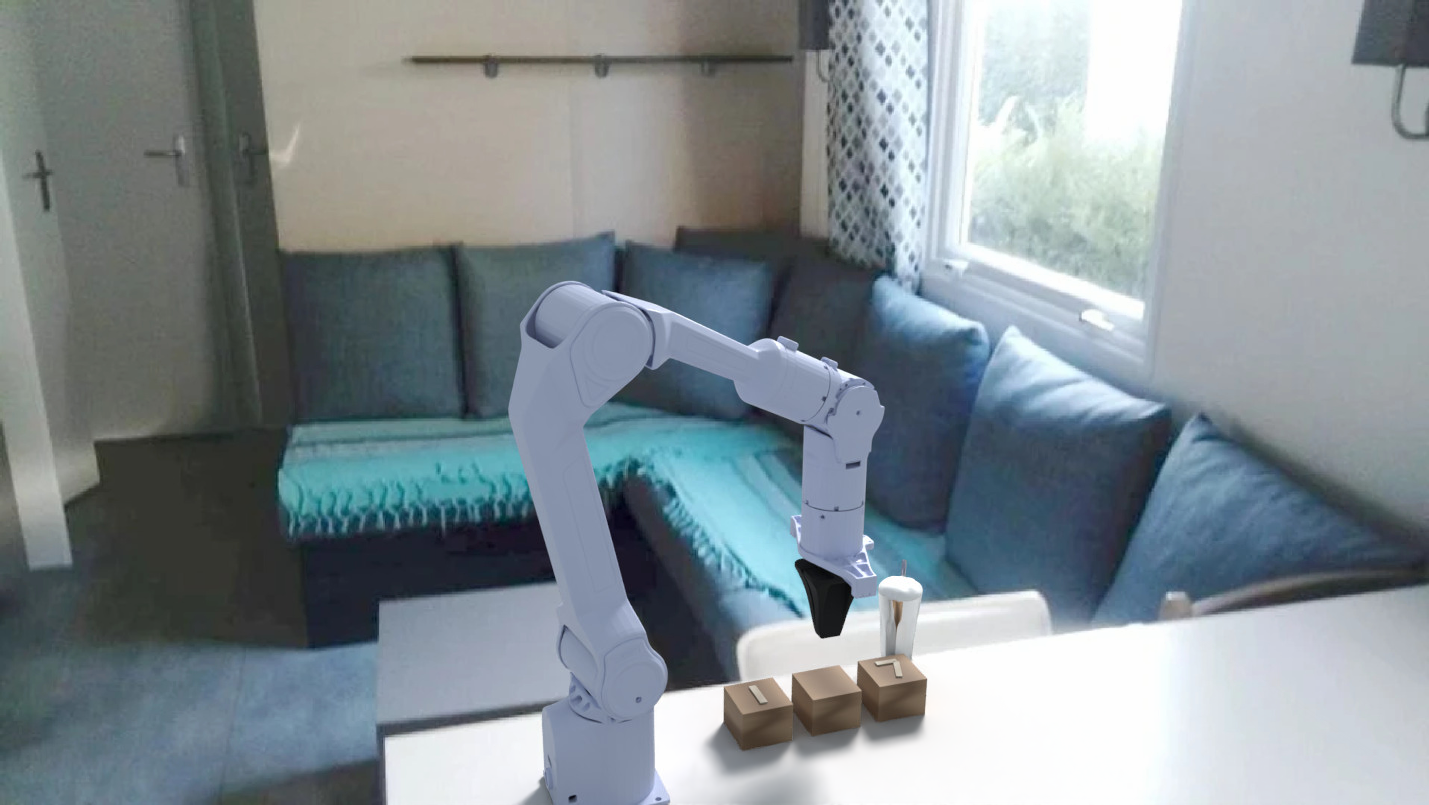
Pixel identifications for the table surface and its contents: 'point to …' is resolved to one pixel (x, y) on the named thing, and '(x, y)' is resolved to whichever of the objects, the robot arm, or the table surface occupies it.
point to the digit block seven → (891, 687)
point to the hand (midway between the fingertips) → (827, 634)
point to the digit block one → (758, 713)
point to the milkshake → (898, 613)
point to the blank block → (826, 700)
